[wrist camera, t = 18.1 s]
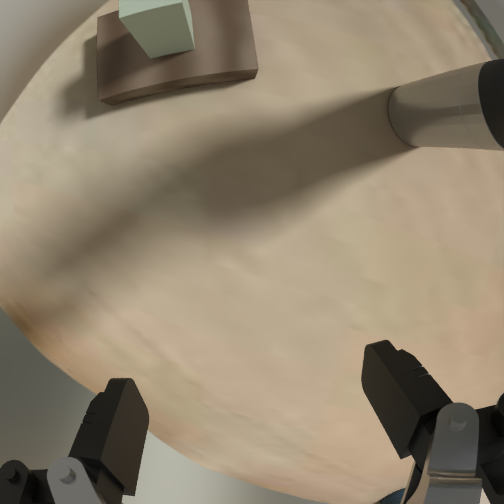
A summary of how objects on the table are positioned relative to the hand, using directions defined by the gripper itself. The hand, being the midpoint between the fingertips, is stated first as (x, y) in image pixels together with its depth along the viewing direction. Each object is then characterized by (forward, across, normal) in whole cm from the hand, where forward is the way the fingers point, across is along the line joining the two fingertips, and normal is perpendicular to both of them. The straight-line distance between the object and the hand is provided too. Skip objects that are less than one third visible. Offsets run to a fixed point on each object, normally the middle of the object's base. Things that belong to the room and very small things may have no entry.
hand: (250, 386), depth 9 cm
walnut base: (+28, +4, -23) cm, 37 cm away
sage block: (+24, +4, -23) cm, 33 cm away
